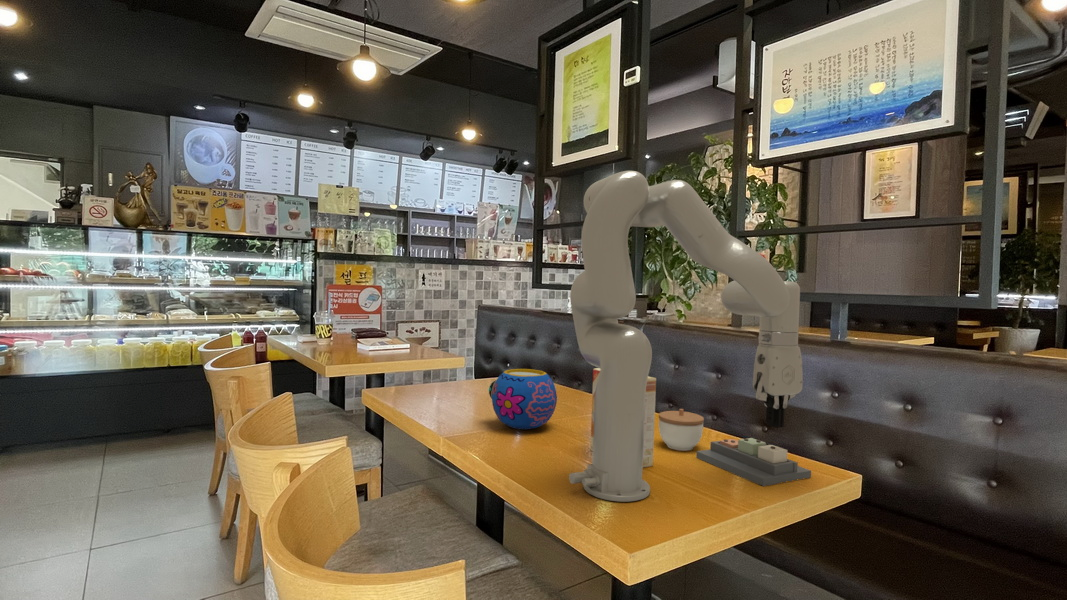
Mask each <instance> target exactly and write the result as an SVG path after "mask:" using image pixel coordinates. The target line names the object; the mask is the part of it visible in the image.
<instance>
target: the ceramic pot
mask: <svg viewBox="0 0 1067 600" xmlns="http://www.w3.org/2000/svg"><path fill="white" fill-rule="evenodd" d="M488 394H489V397H490V398H491V403H492V408H493V411H494V413H495V415H496V418H497V419H498V420H499V421H500V422H502V424H504V425H506V426H508V427H510V428H513V429H517V430H532V429H536V428H539V427H541V426H543V425H545V424H546V423H548V422H549V421H550V419H551V417H552V416H553V415H554V412H555V410H556V407H557V402H558V398H557V397H558V395H557V394H558V393H557V389H556V387H555V383H554V381H553V380H552V378H551V376H550V375H549V373H547V372H545V371H543V370H538V369H533V368H532V369H531V368H513V369H512V368H511V369H507V370H504V371H503V372H502V373H501V374H499V376H498V377H497V378H496V380H494V381H492V382H491V383H490V385H489V387H488Z"/></svg>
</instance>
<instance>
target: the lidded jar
mask: <svg viewBox="0 0 1067 600" xmlns="http://www.w3.org/2000/svg"><path fill="white" fill-rule="evenodd" d="M684 410H685V409H684V408H679V409H678V410H666V411H665V410H664V411H661V412H659V413H658V431H659V435H660V438H661V439H662V441H663V442H664V444H666V447H667V448H669V449H671V450H675V451H681V452H682V451H683V452H685V451H686V452H688V451H689V452H690V451H693V449H694V448H695V447H696V446H697V445H698V443H700V441H701V438H702V435H703V433H704V432H703V431H704V422H705V417H704V416H703V415H700V414H698V413H693V412H689V411H684Z"/></svg>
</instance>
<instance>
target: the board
mask: <svg viewBox="0 0 1067 600" xmlns="http://www.w3.org/2000/svg"><path fill="white" fill-rule="evenodd" d="M720 441H721V440H717V441H716V440H715V441H710V449H703V450H698V451H697V450H696V458H697V459H699V460H701V461H703V462H705V463H708V464H710V465H713V466H714V467H717V468H719V469H721V470H724V471H726V470H727V471H726V472H729V473H731V474H734V475H735V476H738V477H741V478H743V479H745V480H746V481H747V480H748V481H750V482H752V483H755V484H756V483H757V484H758V485H759V486H761V485H762V486H761V487H767V485H768V486H773V485H777V483H779V484H782V483H781V482H784V483H787V482H786V481H790V482H793V481H792V480H795V481H798V480H797V479H801V480H804V479H803V478H806V479H810V477H812V470H810V469H808V468H805V467H802V466H799V464H798V463H799V462H798V461H794V460H791V459H789V458H787V461H786V462H780V463H774V464H773V463H771V462H768V461H765V460H763V459H760V458H758V455H753V456H752V455H749V454H747V453H744V452H741V451H739V450H738V448H734V449H733V448H730V447H727V446H725V445H722V444H720Z"/></svg>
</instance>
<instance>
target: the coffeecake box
mask: <svg viewBox="0 0 1067 600" xmlns="http://www.w3.org/2000/svg"><path fill="white" fill-rule="evenodd" d="M600 370H601V369H600V368H598V367H596V368H593V369H592V390H591V391H592V395H591V396H592V397H591V420H590V421H591V422H590V425H591V426H590V446H589V447H590V449H589V451H591V452H593V434H594V409H595V408H594V402H595V390H596V385H597V381H598V378H599V375H600ZM656 389H657V377H653V376H649V375H648V379H647V385H646V395H645V421H644V445H643V468H647V467H652V466H654V465H653V464H654V444H655V443H654V442H655V439H654V438H655V420H656V419H655V418H656V398H657V397H656V395H657V394H656V393H657V392H656V391H657V390H656Z"/></svg>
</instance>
